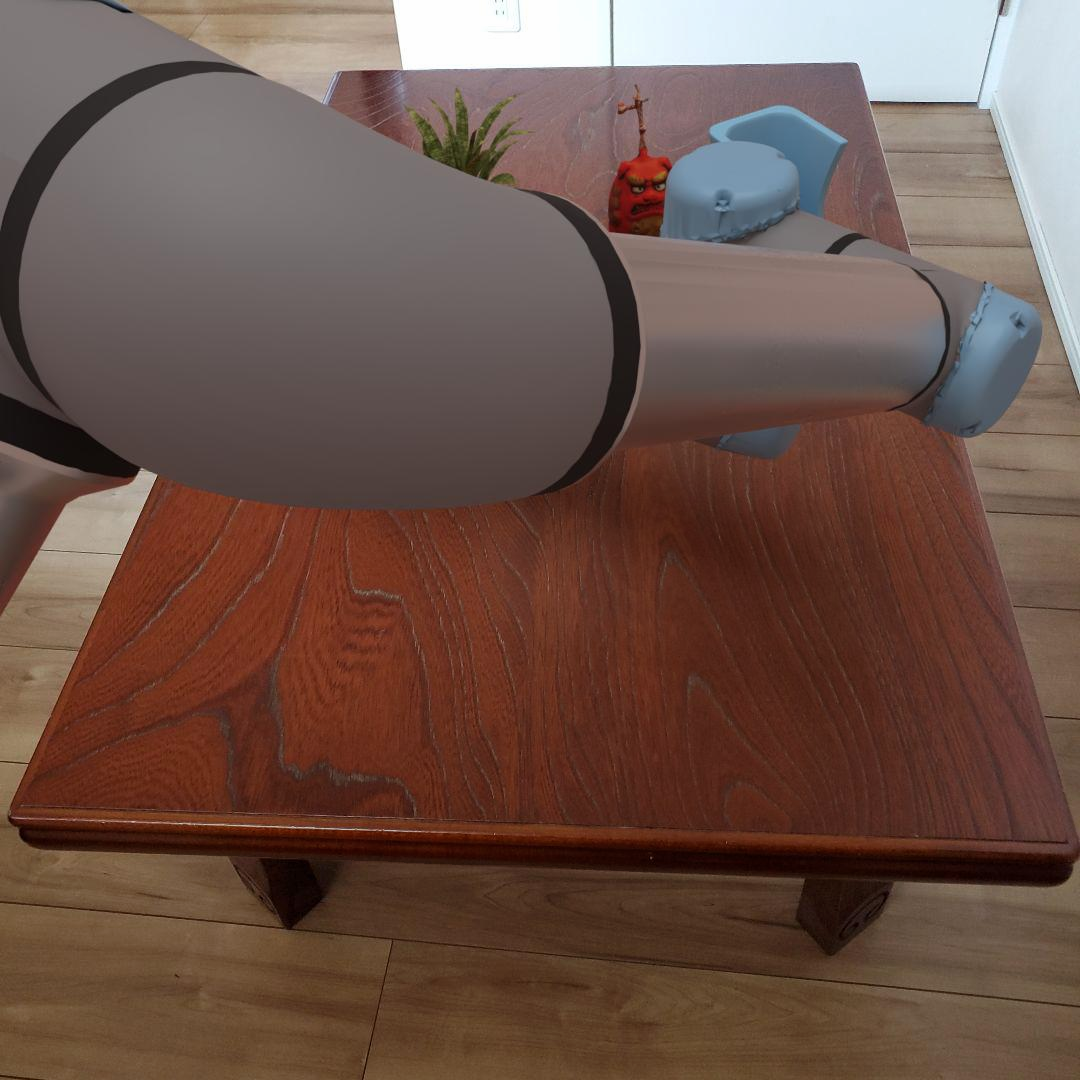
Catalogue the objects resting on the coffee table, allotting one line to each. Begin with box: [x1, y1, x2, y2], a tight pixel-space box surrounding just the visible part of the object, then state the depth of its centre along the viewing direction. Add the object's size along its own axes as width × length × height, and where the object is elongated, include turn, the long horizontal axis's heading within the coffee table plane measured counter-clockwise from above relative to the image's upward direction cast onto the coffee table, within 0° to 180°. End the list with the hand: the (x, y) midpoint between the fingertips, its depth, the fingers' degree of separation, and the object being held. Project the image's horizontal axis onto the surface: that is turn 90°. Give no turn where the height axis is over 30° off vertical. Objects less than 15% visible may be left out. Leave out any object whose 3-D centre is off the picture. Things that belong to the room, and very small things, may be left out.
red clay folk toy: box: [607, 83, 673, 237], centre depth 106 cm, size 8×7×15 cm
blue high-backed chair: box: [708, 105, 849, 219], centre depth 91 cm, size 8×8×20 cm
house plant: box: [403, 86, 536, 188], centre depth 105 cm, size 14×14×16 cm
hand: (319, 274), depth 85 cm, fingers closed on plant pot, 8 cm apart
